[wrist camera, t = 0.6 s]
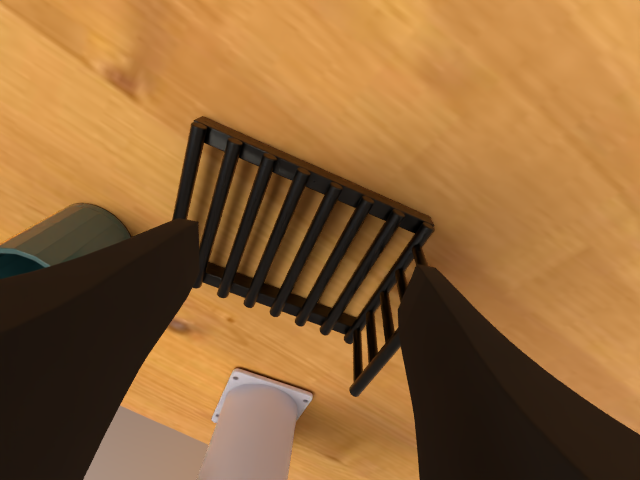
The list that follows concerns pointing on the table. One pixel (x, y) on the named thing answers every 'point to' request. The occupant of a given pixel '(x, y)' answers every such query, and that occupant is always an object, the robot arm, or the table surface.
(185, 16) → the table surface
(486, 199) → the table surface
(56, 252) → the cup
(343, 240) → the rack
